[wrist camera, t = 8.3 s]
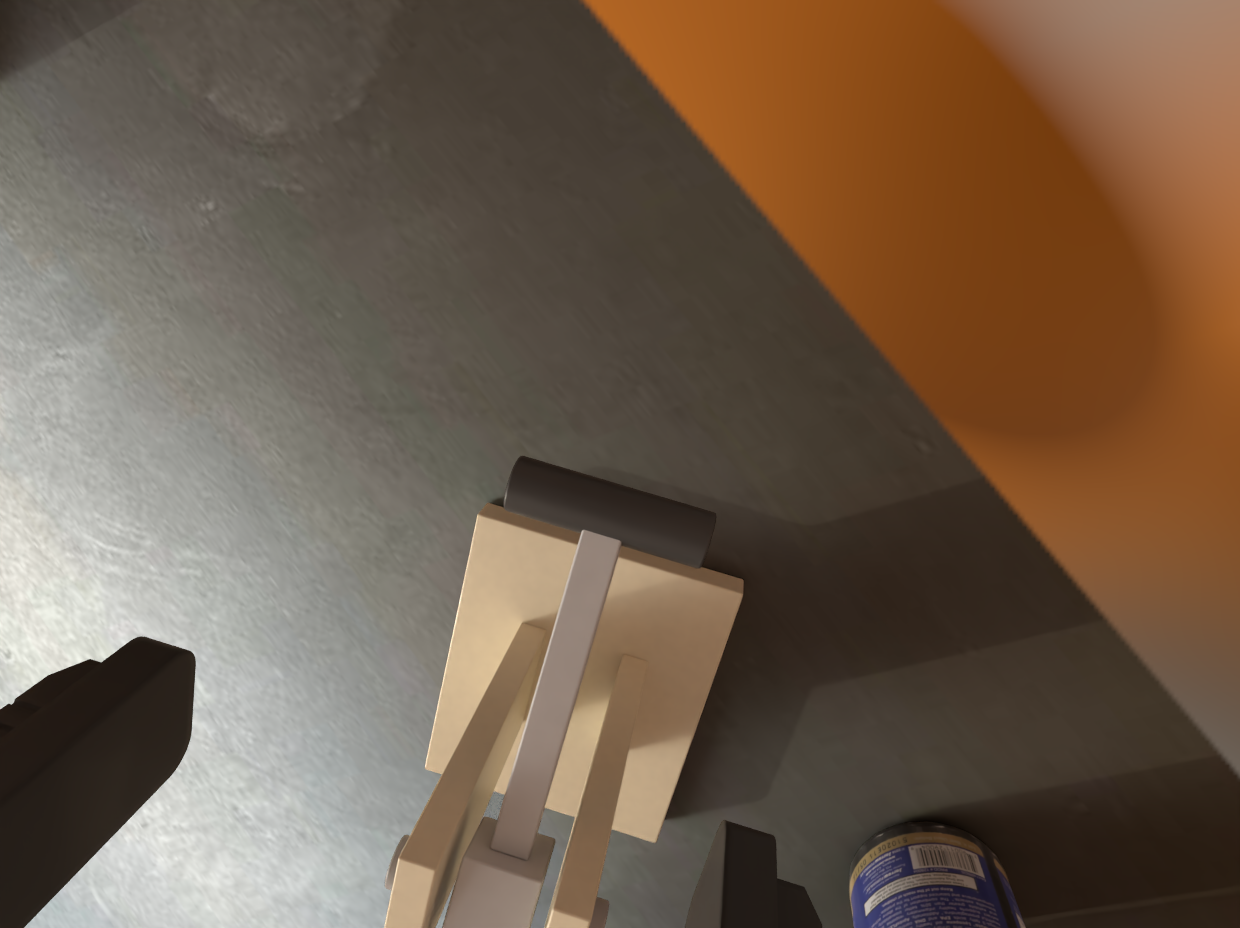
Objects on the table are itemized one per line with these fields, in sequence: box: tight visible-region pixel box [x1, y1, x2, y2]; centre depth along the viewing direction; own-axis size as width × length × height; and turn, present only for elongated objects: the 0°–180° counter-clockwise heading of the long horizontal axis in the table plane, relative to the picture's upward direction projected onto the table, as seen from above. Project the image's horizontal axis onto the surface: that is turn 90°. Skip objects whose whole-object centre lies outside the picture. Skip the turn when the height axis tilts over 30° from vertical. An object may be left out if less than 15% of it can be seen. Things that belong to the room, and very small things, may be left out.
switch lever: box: [442, 456, 716, 928], centre depth 23 cm, size 13×6×2 cm, turn 166°
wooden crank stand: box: [384, 503, 744, 928], centre depth 27 cm, size 12×10×13 cm
